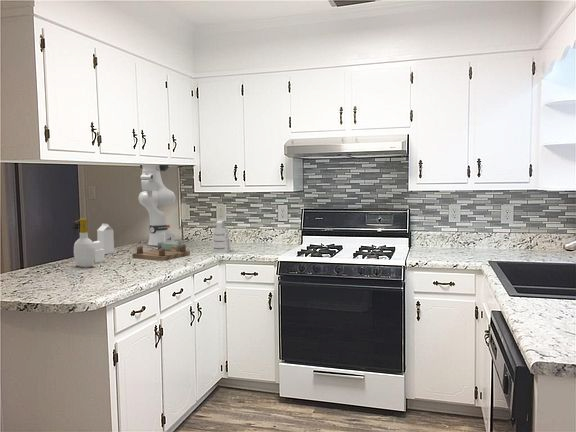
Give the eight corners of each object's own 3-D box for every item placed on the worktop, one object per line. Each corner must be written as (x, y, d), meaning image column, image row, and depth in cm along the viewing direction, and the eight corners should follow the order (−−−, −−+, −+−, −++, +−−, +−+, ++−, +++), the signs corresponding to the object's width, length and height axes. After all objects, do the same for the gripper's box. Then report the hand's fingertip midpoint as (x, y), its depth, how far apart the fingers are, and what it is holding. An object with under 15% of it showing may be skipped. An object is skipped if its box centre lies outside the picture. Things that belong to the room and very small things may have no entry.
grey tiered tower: (230, 250, 317) (230, 220, 315) (227, 252, 307) (226, 221, 305) (215, 250, 318) (214, 220, 316) (211, 252, 308) (210, 221, 306)
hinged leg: (156, 249, 305) (156, 242, 304) (161, 248, 308) (161, 242, 308) (176, 251, 296) (176, 244, 296) (181, 250, 300) (181, 243, 299)
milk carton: (104, 254, 301) (103, 224, 300) (97, 253, 305) (96, 223, 304) (114, 253, 307) (113, 223, 305) (107, 252, 311) (106, 223, 310)
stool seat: (161, 252, 310) (161, 242, 309) (189, 255, 298) (189, 244, 297) (132, 257, 289) (132, 247, 288) (162, 261, 277) (161, 249, 277)
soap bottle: (68, 266, 261) (66, 218, 259) (83, 264, 268) (81, 217, 266) (85, 269, 253) (83, 219, 251) (99, 266, 261) (98, 218, 259)
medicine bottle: (86, 262, 274) (85, 241, 273) (96, 260, 280) (95, 240, 279) (94, 263, 271) (94, 242, 270) (105, 261, 277) (104, 240, 276)
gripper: (149, 175, 318) (149, 196, 320) (139, 176, 298) (140, 198, 299) (158, 175, 318) (159, 196, 320) (149, 176, 298) (150, 198, 299)
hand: (149, 197), depth 309 cm, fingers closed
